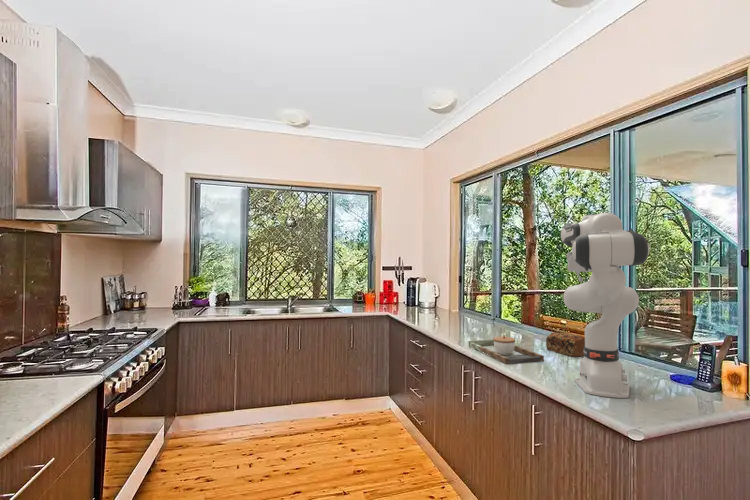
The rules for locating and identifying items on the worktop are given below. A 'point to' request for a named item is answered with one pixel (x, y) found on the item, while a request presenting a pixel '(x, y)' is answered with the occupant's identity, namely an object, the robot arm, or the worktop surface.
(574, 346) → the bread
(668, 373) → the worktop surface
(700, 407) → the worktop surface
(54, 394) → the worktop surface
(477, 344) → the wooden serving tray
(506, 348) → the lidded jar
